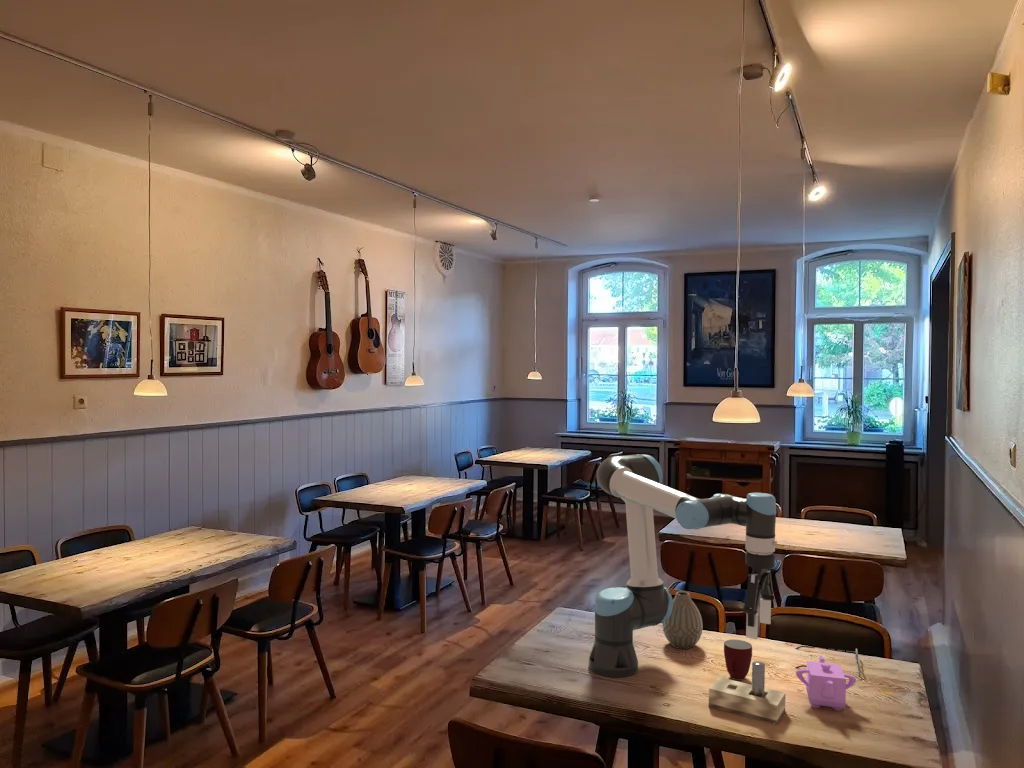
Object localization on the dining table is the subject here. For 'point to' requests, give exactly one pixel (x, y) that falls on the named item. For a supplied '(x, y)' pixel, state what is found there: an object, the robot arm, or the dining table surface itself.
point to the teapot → (826, 684)
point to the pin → (758, 679)
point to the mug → (737, 658)
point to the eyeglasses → (839, 650)
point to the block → (746, 700)
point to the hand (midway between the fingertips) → (758, 630)
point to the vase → (683, 622)
